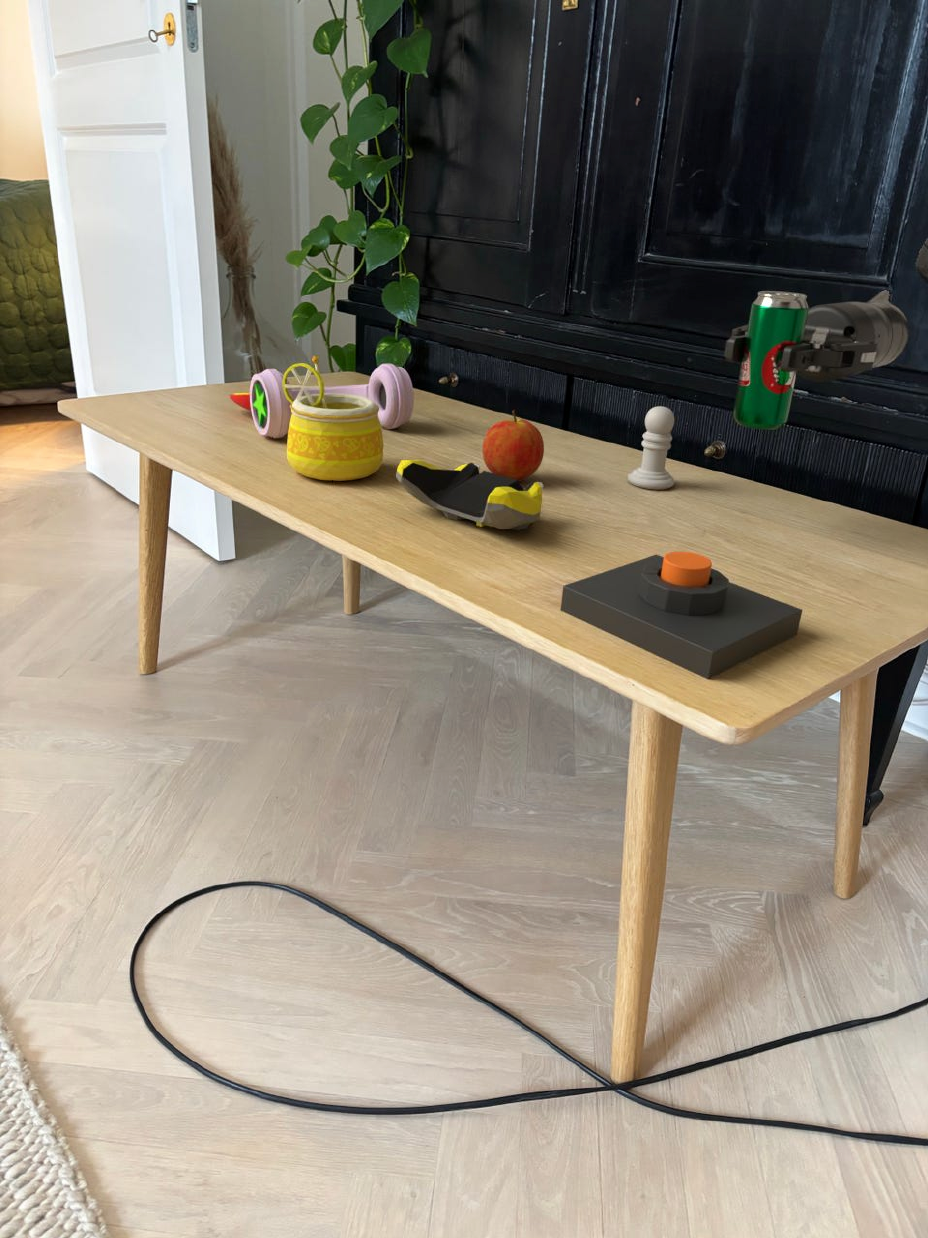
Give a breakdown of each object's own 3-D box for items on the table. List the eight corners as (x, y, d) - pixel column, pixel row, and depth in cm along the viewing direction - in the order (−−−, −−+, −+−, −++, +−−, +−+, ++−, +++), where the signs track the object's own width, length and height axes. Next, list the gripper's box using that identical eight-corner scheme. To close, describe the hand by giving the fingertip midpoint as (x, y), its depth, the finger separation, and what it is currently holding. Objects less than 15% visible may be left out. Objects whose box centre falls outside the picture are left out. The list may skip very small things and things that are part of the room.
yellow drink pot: (400, 479, 102) (403, 371, 97) (308, 490, 97) (306, 375, 92) (353, 451, 112) (353, 351, 107) (267, 459, 107) (263, 354, 102)
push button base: (797, 635, 71) (808, 588, 69) (707, 680, 63) (717, 628, 62) (652, 577, 80) (659, 534, 78) (560, 610, 72) (565, 564, 71)
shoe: (501, 552, 83) (564, 528, 90) (505, 495, 81) (570, 474, 88) (386, 511, 92) (451, 492, 99) (386, 458, 90) (453, 442, 97)
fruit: (529, 470, 108) (535, 403, 105) (549, 487, 102) (556, 416, 99) (473, 471, 107) (477, 403, 103) (491, 489, 101) (495, 417, 97)
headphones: (271, 382, 108) (220, 334, 122) (270, 459, 113) (222, 405, 127) (418, 374, 117) (355, 331, 132) (411, 446, 123) (352, 397, 137)
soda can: (735, 415, 91) (757, 289, 86) (788, 422, 89) (813, 293, 84) (728, 426, 87) (750, 293, 82) (783, 433, 85) (809, 298, 80)
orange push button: (717, 583, 70) (721, 561, 69) (689, 594, 68) (693, 572, 67) (679, 568, 72) (682, 547, 72) (651, 578, 70) (654, 557, 69)
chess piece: (672, 493, 103) (685, 413, 99) (625, 487, 104) (636, 408, 100) (674, 480, 108) (686, 404, 104) (629, 474, 109) (639, 399, 105)
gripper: (783, 294, 97) (696, 302, 86) (919, 311, 88) (841, 322, 77) (770, 366, 100) (684, 382, 89) (900, 389, 91) (822, 410, 80)
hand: (757, 354), depth 83 cm, fingers closed on soda can, 5 cm apart
